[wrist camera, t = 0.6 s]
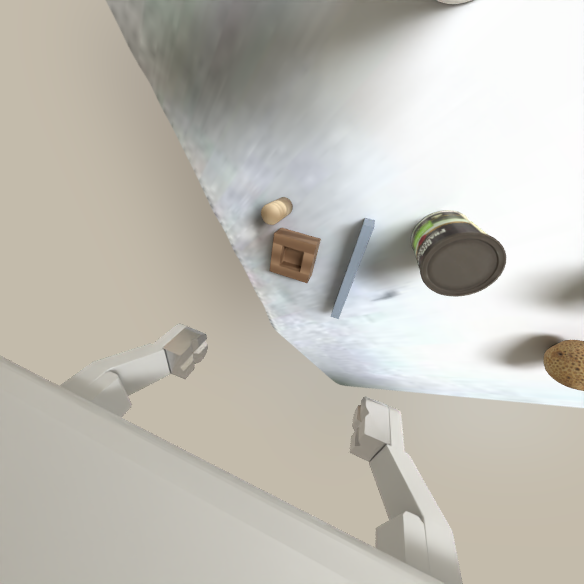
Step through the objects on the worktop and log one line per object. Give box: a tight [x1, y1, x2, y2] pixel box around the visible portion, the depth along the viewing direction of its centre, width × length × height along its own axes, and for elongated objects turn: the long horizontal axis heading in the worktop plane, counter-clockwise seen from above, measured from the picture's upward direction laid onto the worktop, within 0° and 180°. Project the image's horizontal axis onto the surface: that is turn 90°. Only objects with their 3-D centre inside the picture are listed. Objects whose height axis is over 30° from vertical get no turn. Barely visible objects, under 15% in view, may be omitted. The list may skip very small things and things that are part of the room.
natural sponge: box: [544, 340, 584, 391], centre depth 43 cm, size 9×9×10 cm
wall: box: [331, 218, 375, 319], centre depth 51 cm, size 24×2×5 cm, turn 170°
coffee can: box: [411, 210, 506, 296], centre depth 38 cm, size 10×10×14 cm
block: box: [270, 228, 321, 283], centre depth 54 cm, size 10×10×4 cm
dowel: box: [261, 197, 293, 225], centre depth 47 cm, size 4×4×8 cm
